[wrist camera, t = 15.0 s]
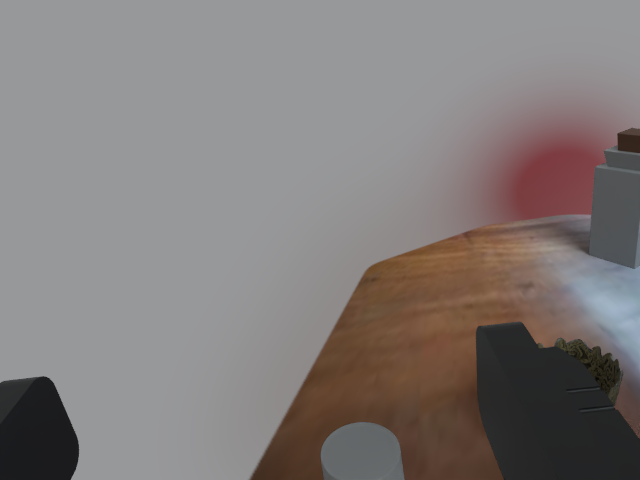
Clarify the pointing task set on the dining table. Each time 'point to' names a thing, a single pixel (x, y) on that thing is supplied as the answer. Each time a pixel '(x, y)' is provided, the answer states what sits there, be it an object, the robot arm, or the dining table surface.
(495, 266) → the dining table surface
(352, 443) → the container
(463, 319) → the dining table surface
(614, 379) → the cup
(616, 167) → the perfume bottle
